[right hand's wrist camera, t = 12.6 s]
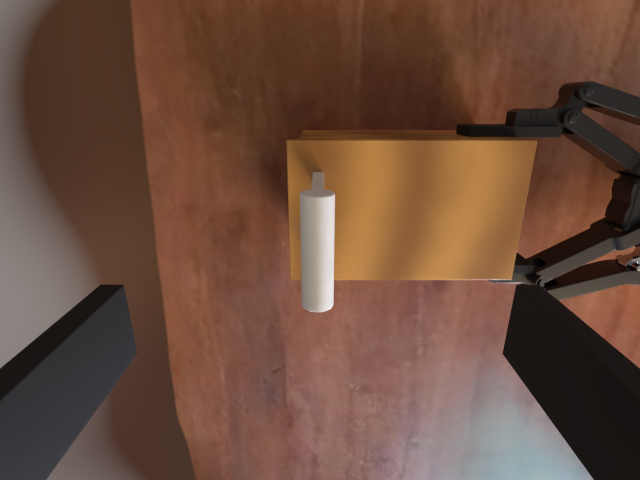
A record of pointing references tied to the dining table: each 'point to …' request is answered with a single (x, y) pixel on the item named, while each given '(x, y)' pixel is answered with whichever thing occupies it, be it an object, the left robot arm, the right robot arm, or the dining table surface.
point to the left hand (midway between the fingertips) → (454, 200)
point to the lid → (404, 210)
